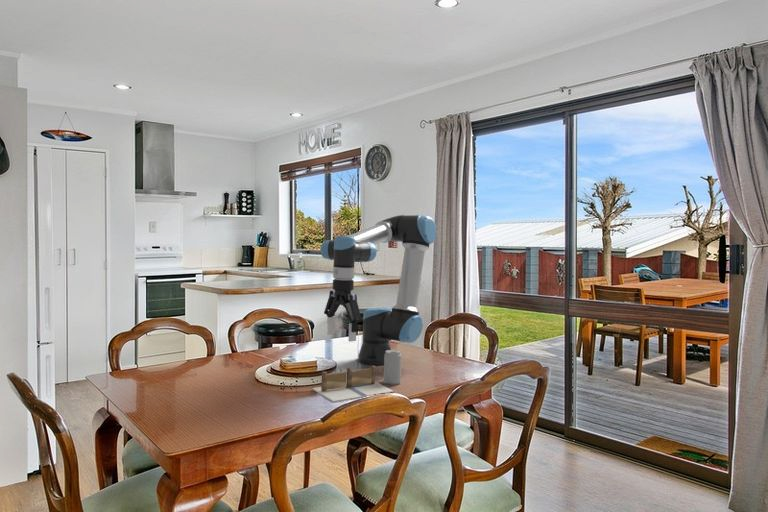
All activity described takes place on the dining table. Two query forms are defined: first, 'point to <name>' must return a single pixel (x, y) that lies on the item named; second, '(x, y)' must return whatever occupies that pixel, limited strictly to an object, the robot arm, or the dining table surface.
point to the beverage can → (392, 367)
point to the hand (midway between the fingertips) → (341, 337)
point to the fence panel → (333, 380)
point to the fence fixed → (360, 376)
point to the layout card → (352, 391)
